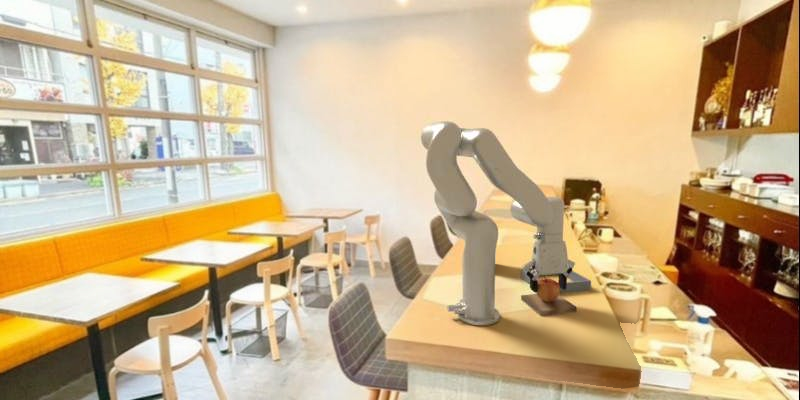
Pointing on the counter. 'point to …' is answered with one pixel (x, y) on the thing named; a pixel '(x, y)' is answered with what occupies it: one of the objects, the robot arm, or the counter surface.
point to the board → (548, 305)
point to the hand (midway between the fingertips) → (548, 289)
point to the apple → (548, 289)
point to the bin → (576, 286)
